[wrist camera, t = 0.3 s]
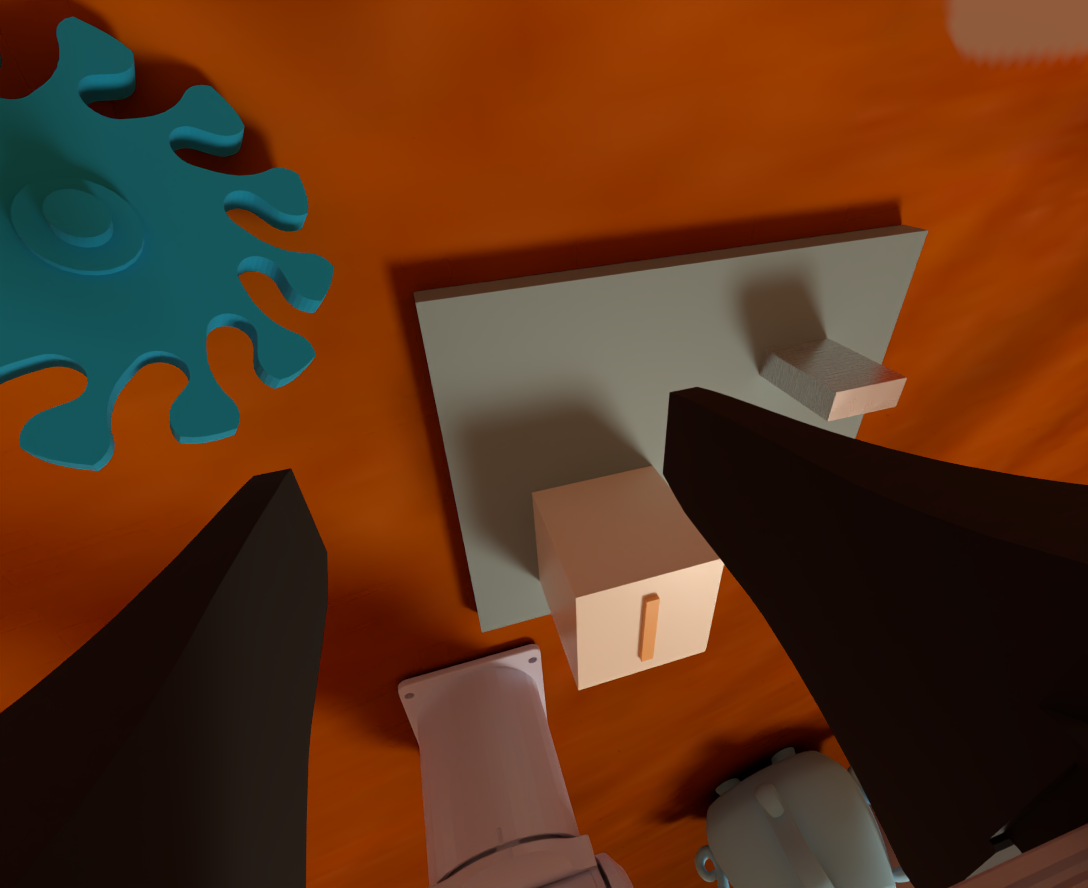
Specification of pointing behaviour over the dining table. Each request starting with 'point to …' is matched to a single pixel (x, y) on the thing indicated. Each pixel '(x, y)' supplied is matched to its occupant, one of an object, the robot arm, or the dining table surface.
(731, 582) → the dining table surface
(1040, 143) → the dining table surface
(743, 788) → the decorative pot
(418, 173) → the dining table surface
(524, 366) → the base plate
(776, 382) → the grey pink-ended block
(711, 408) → the robot arm
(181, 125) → the gear
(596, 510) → the cabinet with handle
